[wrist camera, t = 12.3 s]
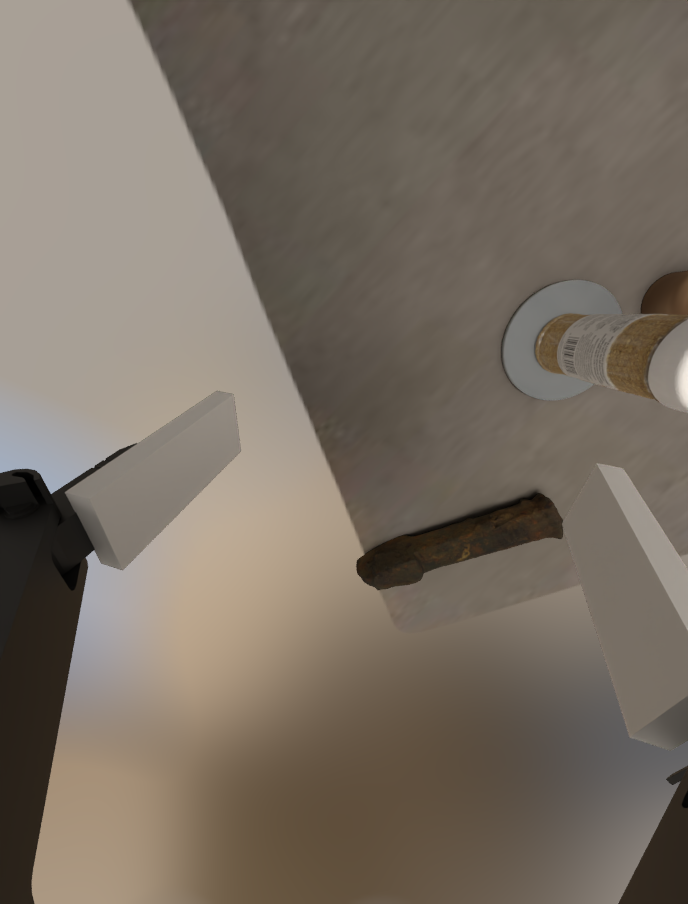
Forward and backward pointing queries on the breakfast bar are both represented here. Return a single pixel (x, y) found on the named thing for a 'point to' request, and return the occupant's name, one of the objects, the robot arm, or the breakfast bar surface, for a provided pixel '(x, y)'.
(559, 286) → the coaster
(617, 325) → the sprinkles bottle
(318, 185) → the breakfast bar surface
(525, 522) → the dark brown elongated piece
